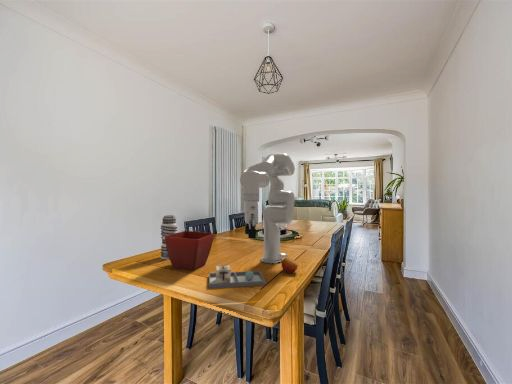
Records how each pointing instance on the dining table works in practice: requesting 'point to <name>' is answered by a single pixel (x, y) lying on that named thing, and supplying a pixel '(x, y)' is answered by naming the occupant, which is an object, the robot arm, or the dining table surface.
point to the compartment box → (237, 280)
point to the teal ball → (249, 275)
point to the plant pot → (189, 249)
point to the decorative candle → (167, 232)
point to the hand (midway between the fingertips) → (250, 236)
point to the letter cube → (223, 274)
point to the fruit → (289, 265)
